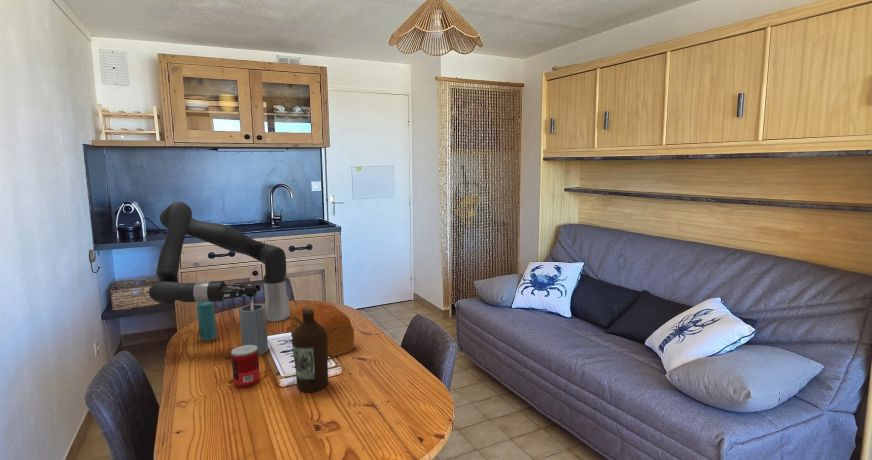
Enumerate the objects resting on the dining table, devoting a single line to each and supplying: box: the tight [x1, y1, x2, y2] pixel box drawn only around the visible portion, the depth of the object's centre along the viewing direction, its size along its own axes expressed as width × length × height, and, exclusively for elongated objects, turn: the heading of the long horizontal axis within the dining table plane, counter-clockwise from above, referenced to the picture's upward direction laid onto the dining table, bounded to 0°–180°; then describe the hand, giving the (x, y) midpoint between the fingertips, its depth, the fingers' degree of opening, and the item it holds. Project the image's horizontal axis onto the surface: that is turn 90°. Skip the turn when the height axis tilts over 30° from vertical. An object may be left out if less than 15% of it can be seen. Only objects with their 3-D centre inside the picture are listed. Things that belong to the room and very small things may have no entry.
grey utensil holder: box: [238, 303, 269, 357], centre depth 177 cm, size 10×10×17 cm
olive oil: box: [291, 307, 329, 393], centre depth 147 cm, size 11×11×25 cm
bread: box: [290, 302, 355, 358], centre depth 181 cm, size 16×27×16 cm, turn 39°
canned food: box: [230, 345, 261, 388], centre depth 152 cm, size 8×8×11 cm
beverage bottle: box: [195, 302, 218, 341], centre depth 188 cm, size 6×7×20 cm
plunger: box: [245, 282, 257, 311], centre depth 175 cm, size 6×6×24 cm
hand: (258, 289), depth 174 cm, fingers closed on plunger, 3 cm apart
